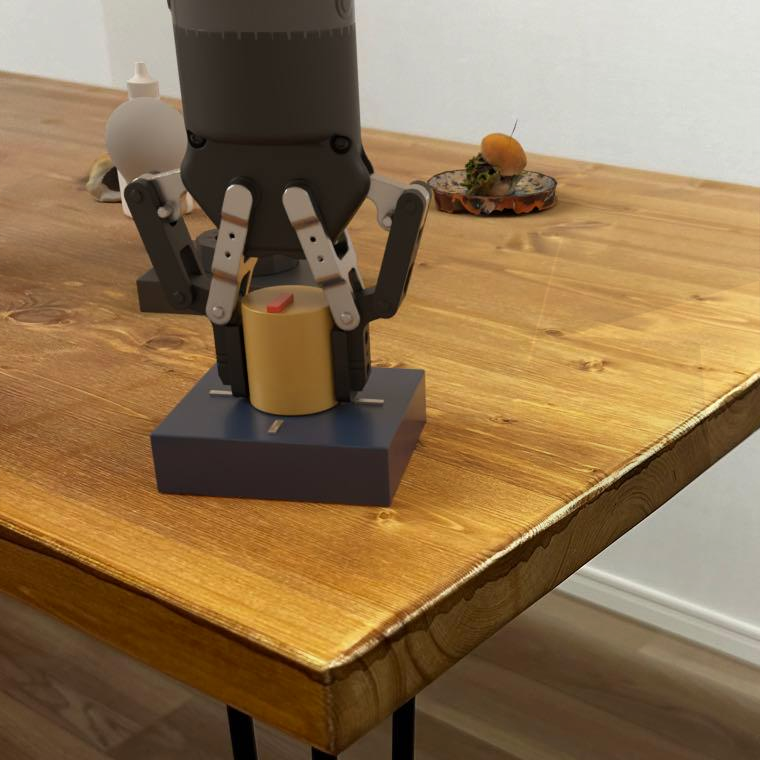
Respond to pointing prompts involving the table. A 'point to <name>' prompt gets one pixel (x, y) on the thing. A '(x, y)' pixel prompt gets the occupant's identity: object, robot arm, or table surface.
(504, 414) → the table surface
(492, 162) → the burger
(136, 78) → the plastic bottle
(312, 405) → the dial
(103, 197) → the pastry
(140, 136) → the lightbulb
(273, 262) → the button box
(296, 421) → the dial panel
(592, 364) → the table surface
